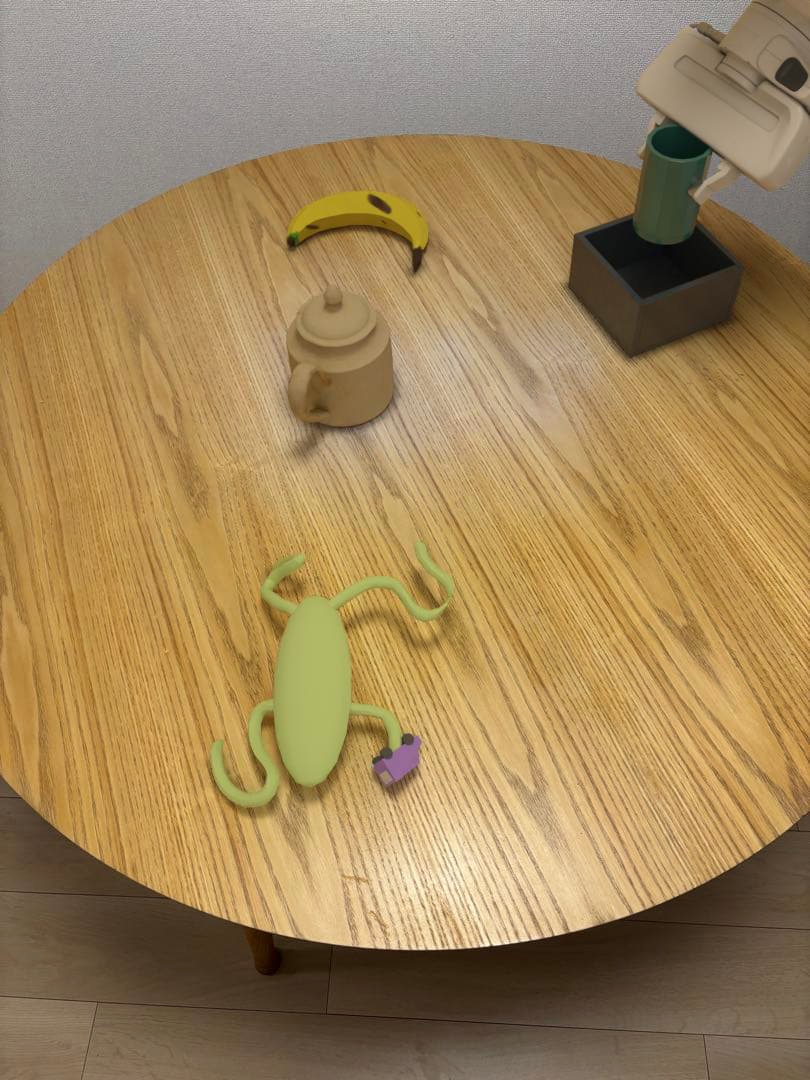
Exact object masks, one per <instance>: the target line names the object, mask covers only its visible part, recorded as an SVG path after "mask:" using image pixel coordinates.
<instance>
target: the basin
mask: <svg viewBox="0 0 810 1080" xmlns="http://www.w3.org/2000/svg"><path fill="white" fill-rule="evenodd" d="M633 216H634V212H633V213H631V214H630V213H629V214H627V215H625V216H622V217H619V218H616V219H613V220H611V221H608V222H605V223H602V224H598V225H597V226H593V227H590V228H586V229H585V230H582V231H578V232H575V233H574V234H573V241H572V250H571V259H570V266H569V276H568V283H567V284H568V285H567V286H568V288H569V289H570V290H571V291H572V292H573V293H574V295H575V296H576V297H577V298H578V300H580V302H581V303H582V304H583V305H584V306H585V307H586V309H587V310H588V311H589V312H590V313H591V315H592V316H593V317H594V318H595V319H596V320H597V322H599V324H600V325H601V326H602V327H603V329H604V330H606V332H607V333H608V334H609V335H610V337H611V338H612V339H613V340H614V341H615V342H616V344H617V345H618V346H619V347H620V348H621V350H623V351H624V353H625V354H626V355H627V356H628V357H629V358H632V357H635V356H637V355H640V354H643V353H645V352H647V351H650V350H654V349H655V348H658V347H661V346H664V345H666V344H669V343H671V342H674V341H676V340H679V339H681V338H684V337H687V336H690V335H692V334H695V333H697V332H699V331H702V330H705V329H707V328H710V327H712V326H715V325H718V324H720V323H723V322H726V321H728V320H731V318H732V314H733V311H734V308H735V304H736V300H737V298H738V295H739V294H738V293H739V291H740V287H741V284H742V280H743V277H744V274H745V271H746V268H747V267H746V265H745V264H744V263H743V262H742V261H741V260H740V259H738V257H737V256H736V255H735V254H734V253H733V252H731V250H729V249H728V248H727V247H726V246H725V245H724V244H723V243H722V242H721V241H720V240H719V239H718V238H717V237H716V236H715V235H714V234H713V233H712V232H710V230H708V228H706V226H705V225H703V224H702V223H701V222H700V221H699V220H698V219H697V221H696V225H695V228H694V232H693V233H692V235H691V236H690V237H689V238H688V239H686V240H685V241H683V242H680V243H677V244H670V245H663V244H656V243H652V242H649V241H647V240H645V239H643V238H641V237H640V236H639V235H638V234H637V233H636V232H635V230H634V228H633V224H632V223H633Z"/></svg>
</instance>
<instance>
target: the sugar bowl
mask: <svg viewBox="0 0 810 1080" xmlns="http://www.w3.org/2000/svg"><path fill="white" fill-rule="evenodd" d="M285 341H286V342H285V343H286V344H285V345H286V351H287V356H288V357H287V358H288V362H289V368H290V373H291V376H290V378H289V382H288V388H287V399H288V404H289V408H290V411H291V412H292V414H293V415H294V416H295V418H297V419H299V420H300V421H302V422H305V423H320V424H323V425H326V426H330V427H339V428H343V427H353V426H359V425H361V424H364V423H367V422H369V421H372V420H373V419H375V418H377V417H378V416H379V415H381V414H382V413H383V412H384V411H386V408H387V407H389V405H390V403H391V401H392V398H393V396H394V392H395V391H394V389H395V381H394V357H393V348H392V338H391V330H390V326H389V323H388V321H387V319H386V318H385V317H384V315H383V314H382V313H381V312H380V311H378V309H376V308H375V307H374V305H373V304H372V302H371V301H370V300H368V298H366V297H365V296H364V295H362V294H358V293H355V292H352V291H346V290H341V288H339V286H337V285H336V284H333V283H332V284H329V285H327V287H326V288H325V290H324V291H323V292H322V293H320V294H317V295H314V296H313V297H311V298H309V299H308V300H307V301H305V302H304V303H303V304H302V305H301V307H300V308H299V309H298V311H297V313H296V317H295V318H294V319H293V321H292V322H291V323H290V325H289V326H288V328H287V332H286V336H285Z"/></svg>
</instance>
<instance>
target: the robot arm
mask: <svg viewBox="0 0 810 1080" xmlns="http://www.w3.org/2000/svg"><path fill="white" fill-rule="evenodd" d="M635 87H636V88H635V94H636V95H637V96H638V97H639V98H640V99H641V100H642V101H643V102H644V103H646V104H647V105H648V106H649V107H651V109H653V110H654V111H656V112H655V113H654V114H653V115H652V117H651V118H650V120H649V124H648V129H647V132H646V138H645V141H644V142H643V144H642V145H641V146H640V148H639V149H638V150H637V152H636V156H637V157H638V158H640V159H641V160H642V161H643V158H644V152H645V146H646V140H647V136H648V134H649V133H650V132H651V131H652V130H653V129H655V128H657V127H660V126H662V125H665V124H673V123H677V124H679V125H680V126H682V127H683V128H684V129H686V130H687V131H688V132H690V133H691V134H693V135H694V136H695V137H697V138H698V139H699V140H701V141H702V142H704V143H705V144H706V145H708V146H709V147H710V148H712V149H713V153H714V154H715V155H716V156H718V157H719V158H720V159H722V161H721V162H720V163H719V164H718V165H717V167H716V169H717V170H718V172H717V173H715V174H713V175H711V176H710V177H707V178H706V180H704V181H703V182H702V181H701V180H700V179H698V178H697V179H696V180H695V182H694V183H693V185H692V186H691V187H689V189H688V190H687V194H688V195H689V196H690V197H691V198H692V199H693V200H695V201H696V202H697V203H698V204H700V206H702V205H704V204H705V203H706V202H707V200H708V199H709V198H710V197H711V196H712V195H713V193H716V192H718V191H720V190H722V189H724V188H726V187H728V186H730V185H733V184H735V182H736V181H737V180H738V178H739V177H741V175H744V176H745V177H746V178H748V179H749V180H751V181H752V182H753V183H754V184H756V185H757V186H759V187H760V188H762V189H763V190H765V191H766V192H768V193H769V192H774V191H775V190H778V189H782V187H784V186H785V185H786V184H787V183H788V182H789V181H790V179H792V177H793V176H794V175H795V173H796V172H798V169H799V168H800V167H801V165H802V164H803V163H804V161H805V160H806V159H807V158H808V156H809V155H810V0H751V2H750V3H749V4H748V5H747V7H746V8H745V10H744V11H743V12H742V14H741V15H740V16H739V17H738V19H737V20H736V22H735V23H734V24H733V25H732V26H731V28H730V29H729V31H728V32H727V33H724V32H723V31H720V30H718V29H715V28H714V27H713V26H712V25H711V24H709V23H708V22H705V21H700V22H699V23H697V22H694V23H691V24H688V25H685V26H684V27H682V29H680V31H679V32H678V34H677V35H676V36H675V38H674V39H673V40H672V41H671V42H670V43H669V44H667V45H666V46H665V47H664V49H662V51H661V52H660V53H659V54H658V55H657V56H656V57H655V58H654V59H653V60H652V62H650V64H649V65H648V66H647V67H646V69H644V71H643V72H642V74H641V75H640V76H639V77H638V79H637V81H636V86H635Z"/></svg>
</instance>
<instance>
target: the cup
mask: <svg viewBox="0 0 810 1080" xmlns="http://www.w3.org/2000/svg"><path fill="white" fill-rule="evenodd" d="M646 137H647V139H645V141H646V146H645V152H644V158H643V160H642V165H641V170H640V176H639V182H638V189H637V193H636V199H635V205H634V209H633V213H634V216H633V223H632V224H633V228H634V230H635V232H636V233H637V234H638V235H639V236H640V237H641V238H643V239H645V240H647V241H649V242H652V243H656V244H663V245H670V244H677V243H680V242H683V241H685V240H686V239H688V238H689V237H690V236H691V235H692V233H693V232H694V228H695V225H696V221H697V220H698V218H699V217H698V216H699V212H700V208H701V205H700V204H698V203H697V202H696V201H695V200H693V199H692V198H691V197H690V196H689V195H688V194H687V190H688V189H689V187H691V186H692V185H693V183H694V182H695V180H696V179H697V178H698V179H700V180H701V181H702V182H703V181H704V180H706V179H708V174H709V170H710V166H711V161H712V157H713V153H714V152H713V149H712V148H710V147H709V146H708V145H706V144H705V143H704V142H702V141H701V140H699V139H698V138H697V137H695V136H694V135H693V134H691V133H690V132H688V131H687V130H686V129H684V128H683V127H682V126H680V125H679V124H677V123H673V124H665V125H662V126H660V127H657V128H655V129H653V130H652V131H651V132H650V133H649V134H648V136H647V135H646Z"/></svg>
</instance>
